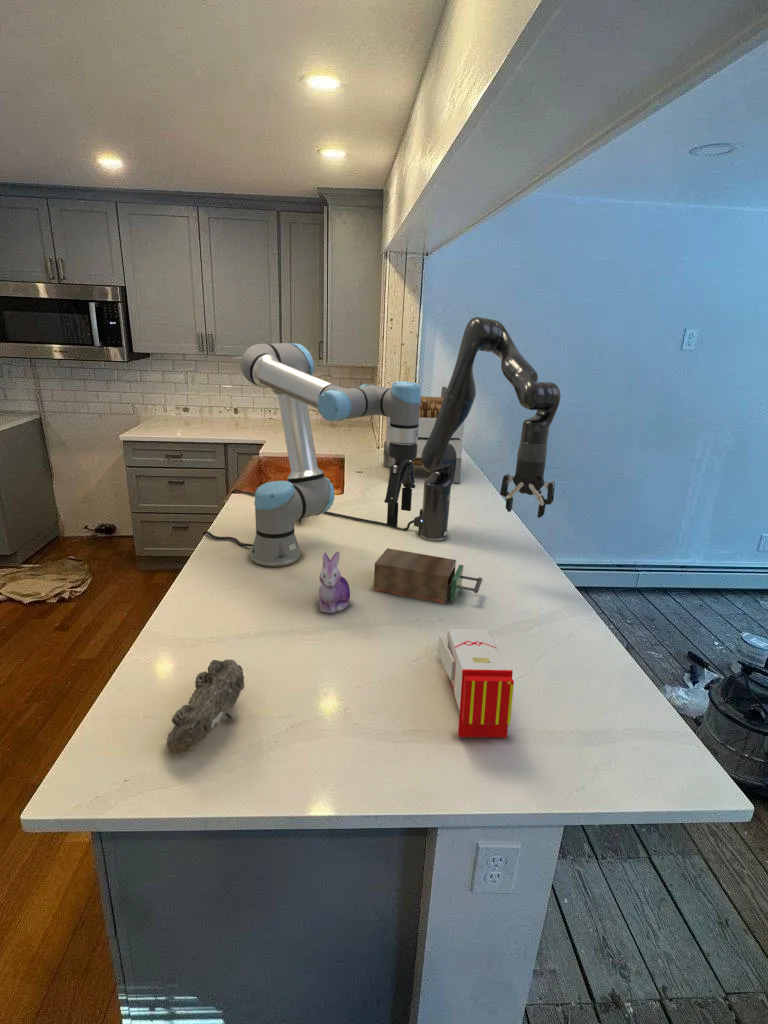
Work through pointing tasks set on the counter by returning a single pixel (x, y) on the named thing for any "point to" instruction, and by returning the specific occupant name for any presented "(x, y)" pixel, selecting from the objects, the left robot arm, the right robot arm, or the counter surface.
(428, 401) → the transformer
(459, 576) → the drawer
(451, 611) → the counter surface
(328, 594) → the figurine
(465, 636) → the toy
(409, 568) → the cabinet
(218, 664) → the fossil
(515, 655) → the counter surface
